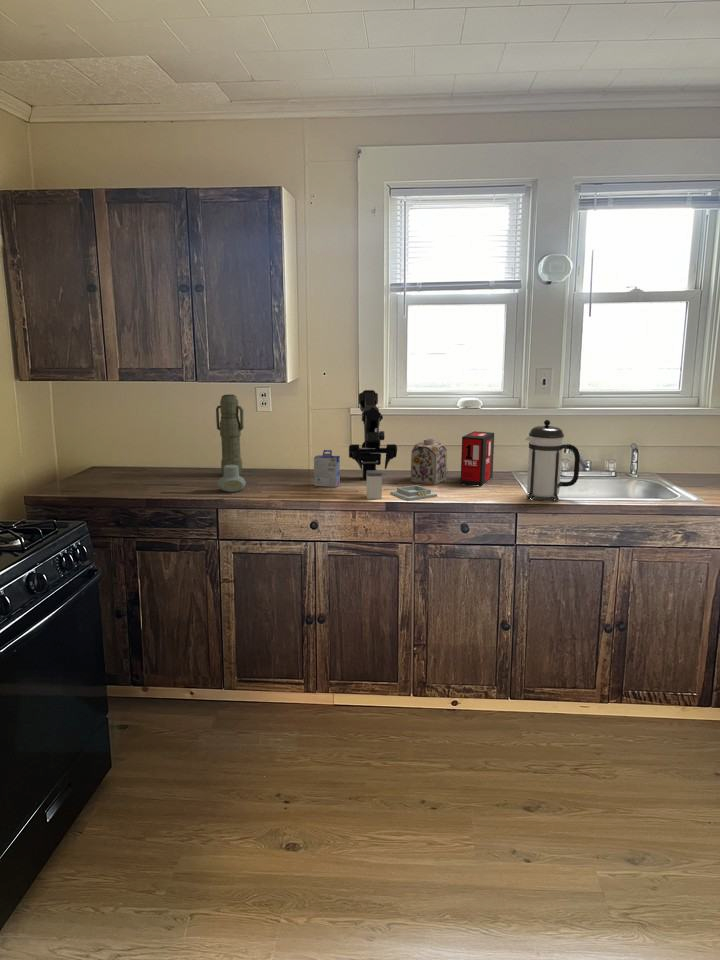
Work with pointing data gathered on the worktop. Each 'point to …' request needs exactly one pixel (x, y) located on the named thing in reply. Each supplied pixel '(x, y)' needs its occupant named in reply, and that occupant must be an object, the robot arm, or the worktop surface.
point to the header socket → (413, 492)
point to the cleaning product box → (477, 458)
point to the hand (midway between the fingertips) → (373, 468)
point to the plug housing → (374, 484)
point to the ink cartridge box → (327, 470)
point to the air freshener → (231, 479)
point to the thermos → (230, 431)
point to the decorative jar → (428, 462)
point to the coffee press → (547, 461)
